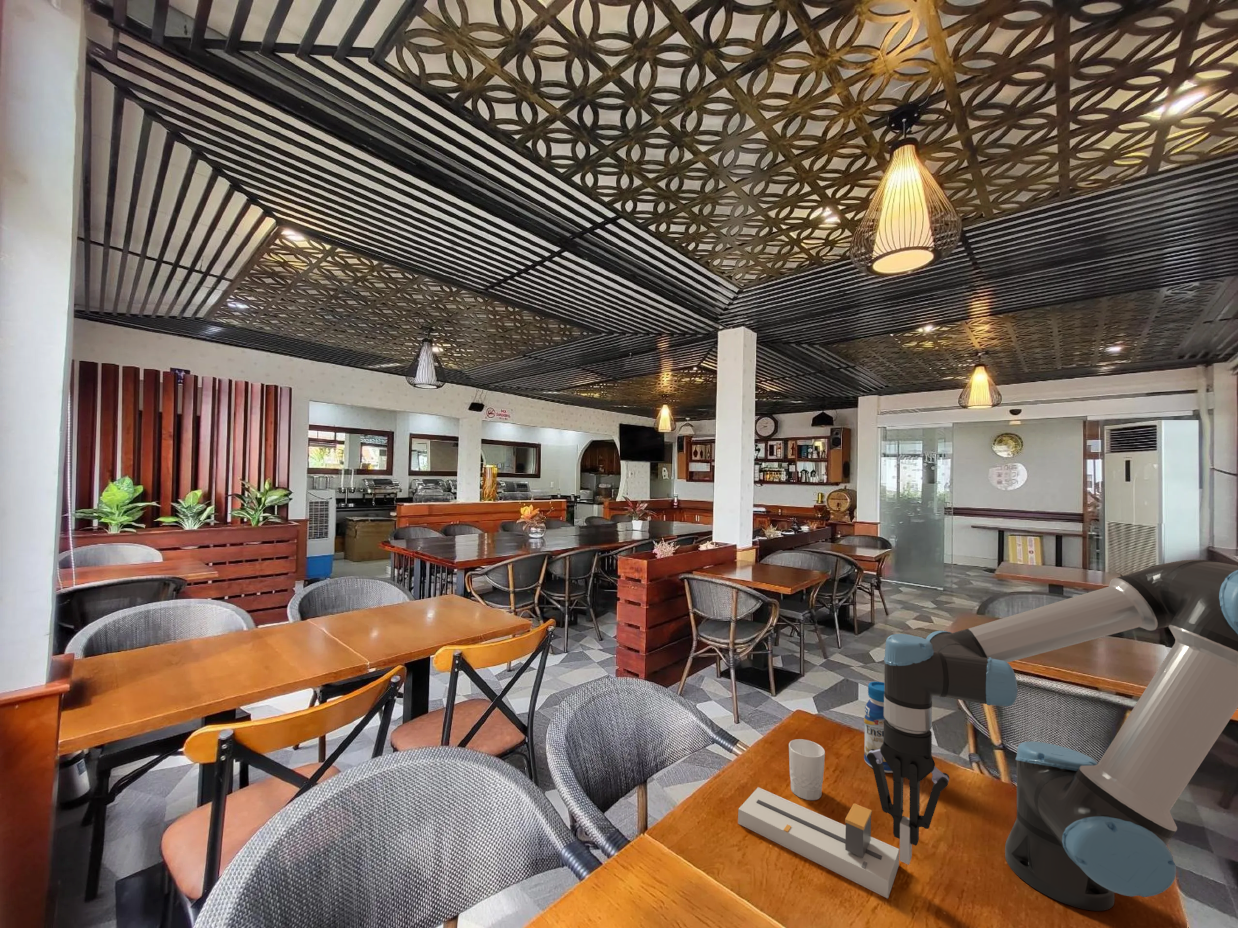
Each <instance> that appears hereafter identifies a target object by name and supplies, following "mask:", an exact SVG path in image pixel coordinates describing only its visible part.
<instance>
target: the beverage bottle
mask: <svg viewBox="0 0 1238 928" xmlns="http://www.w3.org/2000/svg"><path fill="white" fill-rule="evenodd" d="M867 694H868V698H869V700H868V701H867V703H865V706H864V712H865V715H864V716H863V722H864V749H863V751H864V754H863V759H864V762H865V763H866V764H867V765H868V766H869V767H870V768H871V769H873V767H872V765H871V764H870V762H869V760H868V758H867V755H868V753H869V751H870V750H871V749H874V750H878V749H880V747H881V746H882V744H883V736H884V720H885V718H884V681H883V682H881V681H870V682H869V683H868V685H867ZM882 763H883V767H884V771H885V774H893V772H892V770H891V769H890V767H889V766H888V764H887V762H886V761H885V759H884V757H883V762H882Z"/></svg>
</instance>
